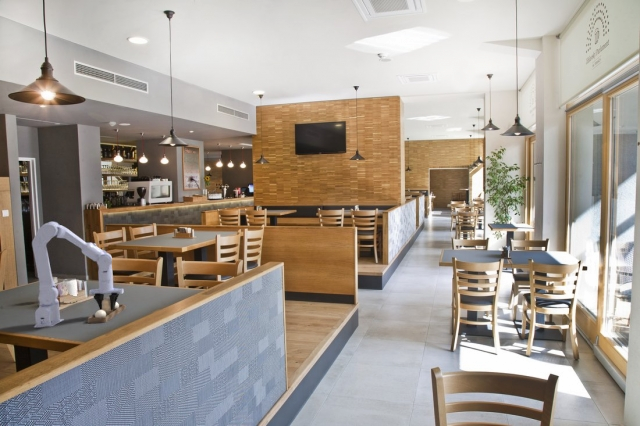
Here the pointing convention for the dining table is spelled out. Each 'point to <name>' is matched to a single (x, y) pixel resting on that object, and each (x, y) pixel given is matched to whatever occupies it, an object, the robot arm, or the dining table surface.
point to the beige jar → (106, 305)
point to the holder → (108, 315)
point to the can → (71, 285)
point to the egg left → (100, 313)
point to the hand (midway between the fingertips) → (107, 309)
